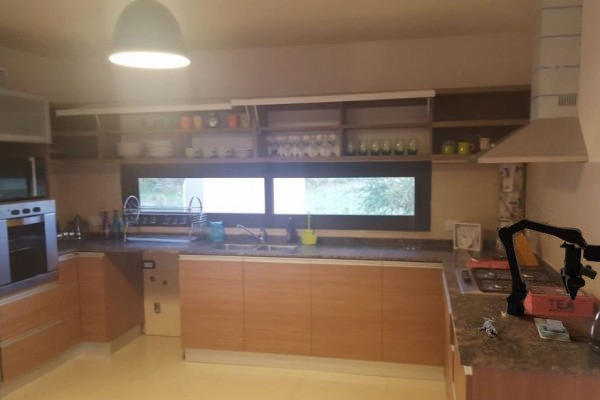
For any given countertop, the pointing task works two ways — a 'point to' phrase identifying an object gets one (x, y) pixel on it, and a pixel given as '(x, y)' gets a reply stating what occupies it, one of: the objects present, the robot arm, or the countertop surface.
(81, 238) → the countertop surface
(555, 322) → the engine block
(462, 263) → the countertop surface
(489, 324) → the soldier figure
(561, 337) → the chassis
